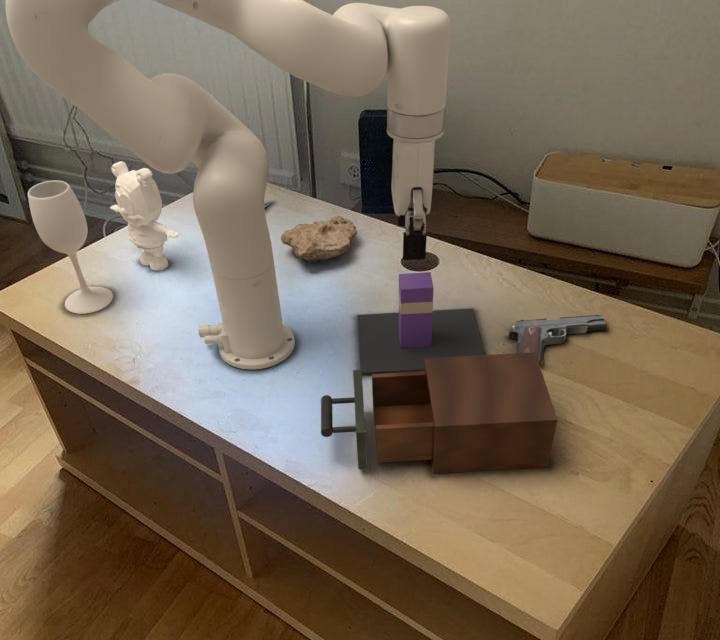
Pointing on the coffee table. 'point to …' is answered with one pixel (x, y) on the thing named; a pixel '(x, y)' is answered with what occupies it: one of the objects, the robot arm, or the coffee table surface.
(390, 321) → the mat
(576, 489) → the coffee table surface
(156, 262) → the white cartoon figurine
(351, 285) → the coffee table surface
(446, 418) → the cabinet
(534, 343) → the handgun
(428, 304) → the snack box
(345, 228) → the rock
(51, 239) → the wineglass
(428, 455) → the drawer
